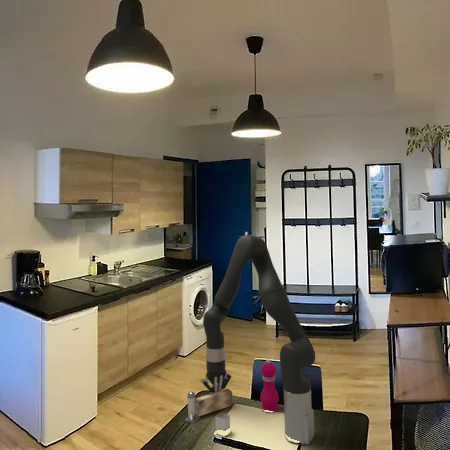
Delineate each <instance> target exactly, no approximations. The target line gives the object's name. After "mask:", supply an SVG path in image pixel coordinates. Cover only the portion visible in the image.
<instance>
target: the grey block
mask: <svg viewBox="0 0 450 450" xmlns="http://www.w3.org/2000/svg"><path fill="white" fill-rule="evenodd" d="M230 417H231V416H230V414H227V413H222V412H219V413H218V414H216V415H215V417H214V419H215V432H216V431H217V430H223V431H226V430H227V429H229V428H230V429H231V420H230V419H231V418H230Z"/></svg>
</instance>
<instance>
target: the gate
mask: <svg viewBox="0 0 450 450" xmlns="http://www.w3.org/2000/svg"><path fill="white" fill-rule="evenodd" d="M232 404H233V390H231V389H229V388H225V389H222V390H221V391H218V392H215V393H213V392H211V393H209V394H206V395H202V396H199V397H195V406H196V416H199V417H201V416H203V415H204V416H205V415H208V414H210V413H213V412H216V411H219V410H222V409H225V408H228V407H231V406H232Z"/></svg>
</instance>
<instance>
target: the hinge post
mask: <svg viewBox="0 0 450 450" xmlns="http://www.w3.org/2000/svg"><path fill="white" fill-rule="evenodd" d="M195 399H196V393H195V392H194V391H189V392H188V393H187V410H188V413H187V415H188V416H187V417H186V418H184V421H185V422H189V423H192V424H195V423H196V422H197V421H198V420H200V418H201V416H198V415H197V414H196V401H195Z"/></svg>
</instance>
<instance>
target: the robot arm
mask: <svg viewBox="0 0 450 450" xmlns="http://www.w3.org/2000/svg"><path fill="white" fill-rule="evenodd" d="M267 246H268V245H267V244H266V242H265V241H264V239H263V238H262V237H259V236H256V235H250V234H244V235H242V236H240V237H239V238H238V239H237V242H236V244H235V246H234V249H233V252H232V255H231V258H230V260H229V261H230V262H229V264H228V267H227V269H226V273H225V276H224V278H223V279H222V282H221V283H220V286H219V288H218V290H217V292H216V294H215V296H214V301H213V303H212V306H211V307H210V309H207V310H206V312H204V314H203V317H202V322H203V325H202V326H203V329H204V334H205V340H206V343H205V345H206V350H205V361H206V364H205V366H206V374H205V378H204V379H201V380H200V383H202V385H203V386H204V387H205V388H206V389H207V390H208V391H209V392H211V393H215V392H218V391H221V390H224V389H226V387H227V386H228V384H229V382H230V380H231V378H232V375H231V374H230V373H228V372H227V371H226V350H225V335H224V332H223V331H222V330H221V324H222V323H223V322H224V321H225V319H226V317H227V315H228V312H229V310H230V307H231V305H232V303H233V301H234V300H235V298H236V296H237V294H238V292H239V289H240V286H241V285H240V284H241V276H242V273H243V270H244V268H245V266H246V264H247V263H248V261H251V263H252V264H253V266H254V268H255V270H256V273H257V276H258V278H257V279H258V295H259V299H260V302H261V303H262V305H263V308H264V309H265V312H266V313H267V314H268V316H269V317H271V319H273V320H274V322H276V323H277V324H278V325H279V326H280V327H281V328H283V330H284V331H285V332H286V334H287V336H288V338H289V340H290V342H288V343H285V344H283V345H282V347H281V348H280V351H279V365H280V377H281V381H282V384H283V407H284V408H283V411H284V412H283V413H284V416H283V417H284V435H285V434H286V435H287V436H288V437H290V438H291V439H294V440H297V441H300V443H301V444H300V445H309V444H310V443H311V442H312V440H313V438H314V437H315V422H314V421H315V420H314V419H315V416H314V414H315V413H314V409H313V408H312V383H311V380H310V379H309V378H308V377H306V376H303V375H302V370H303V369H305V368H308V367H310V366H313V365H314V364H315V361H316V353H315V352H316V351H315V349H314V347H313V344H312V342H311V341H310V339H309V337H308V336H307V333H306V332H305V330H304V328H303V326H302V324H301V322H300V321H299V319H298V317H297V315H296V312H295V310H294V308H293V307H292V304H291V302H290V300H289V299H290V298H289V297H288V294H287V292H286V290H285V288H284V285H283V284H282V282H281V279H280V277H279V275H278V273H277V271H276V268H275V266H274V263H273V261H272V259H271V258H272V257H271V255H270V254H271V253H270V251H269V249H268V247H267ZM209 382H210V385H211V386H210V385H209Z"/></svg>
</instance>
